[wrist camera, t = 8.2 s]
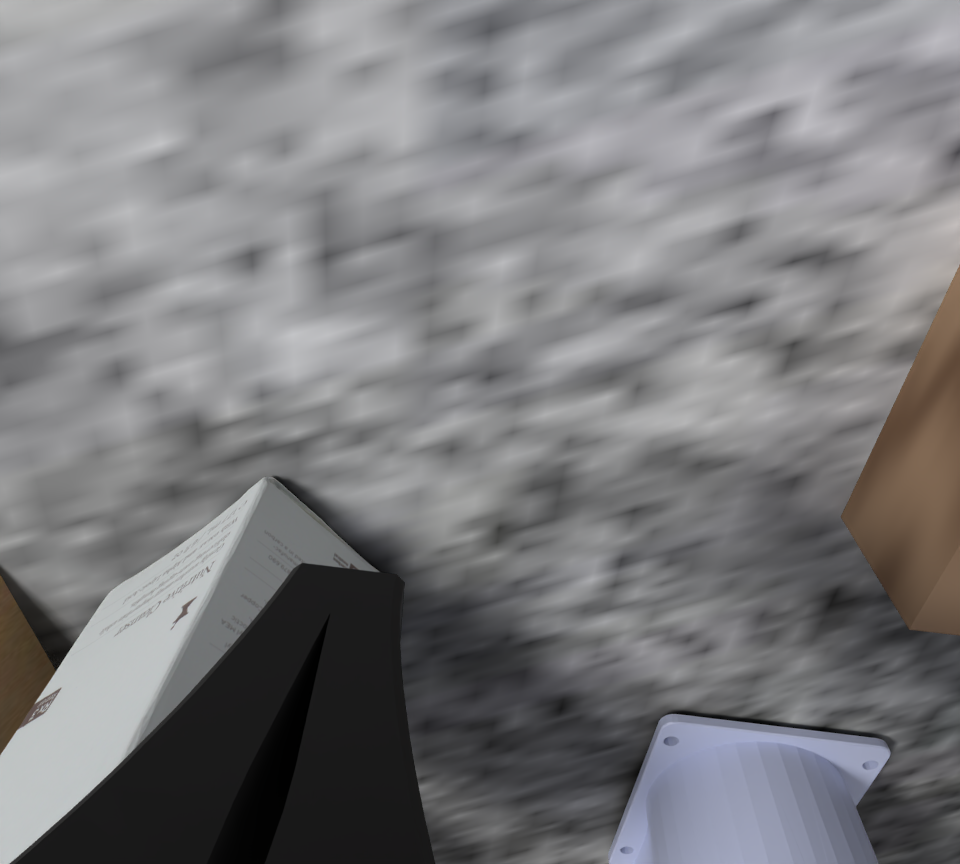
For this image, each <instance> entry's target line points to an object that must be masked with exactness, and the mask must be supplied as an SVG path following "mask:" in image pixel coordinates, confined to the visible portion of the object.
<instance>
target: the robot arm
mask: <svg viewBox="0 0 960 864" xmlns="http://www.w3.org/2000/svg"><path fill="white" fill-rule="evenodd" d="M404 586H405V582H404V581H403V580H402V579H401V578H400V577H399V576H398V575H397V574H390V573H381V572H373V571H365V570H357V569H349V568H341V567H332V566H324V565H316V564H308V563H301V564H299V565H298V566H296V567H295V568H293V570H292V571H291V572H290V574H289V575H288V576H287V578H286V579H285V580H284V582H283V583H282V584H281V586H280V587H279V588H278V590H277V591H276V592H275V594H274V595H273V596H272V597H271V599H270V600H269V601H268V602H267V604H266V605H265V606H264V608H263V609H262V610H261V611H260V612H259V614H258V615H257V616H256V617H255V619H254V620H253V621H252V622H251V623H250V625H249V626H248V627H247V628H246V629H245V630H244V632H243V633H242V634H241V635H240V636H239V638H238V639H237V640H236V641H235V642H234V644H233V645H232V646H231V647H230V648H229V649H228V650H227V651H226V653H225V654H224V655H223V656H222V657H221V658H220V659H219V660H218V661H217V663H216V664H215V665H214V666H213V667H212V668H211V669H210V670H209V672H208V673H207V674H206V675H205V676H204V677H203V678H202V679H201V680H200V682H199V683H198V684H197V685H196V686H195V687H194V688H193V689H192V690H191V692H190V693H189V694H188V695H187V696H186V697H185V698H184V699H183V700H182V701H181V702H180V703H179V704H178V705H177V706H176V708H175V709H174V710H173V711H172V712H171V713H170V714H169V715H168V716H167V717H166V718H165V719H164V720H163V721H162V722H161V723H160V724H159V725H158V726H157V727H156V728H155V729H154V730H153V731H152V732H151V733H150V734H149V735H148V736H147V737H146V738H145V739H144V740H143V741H142V742H141V743H140V744H139V745H138V746H137V747H136V748H135V749H134V750H133V751H132V752H131V753H130V754H129V755H128V756H127V757H126V758H125V759H124V760H123V761H122V762H121V763H120V764H119V765H118V766H117V767H116V768H115V769H114V770H113V771H112V772H111V773H110V774H109V775H108V776H106V777H105V778H104V779H103V780H102V781H101V782H100V783H99V784H98V785H97V786H96V787H95V788H94V789H93V790H92V791H91V792H90V793H88V794H87V795H86V796H85V797H84V798H83V799H82V800H81V801H80V802H79V803H78V804H76V805H75V806H74V807H73V808H72V809H71V810H70V811H69V812H68V813H67V814H66V815H64V816H63V817H62V818H61V819H60V820H59V821H58V822H57V823H55V824H54V825H53V826H52V827H51V828H50V829H49V830H48V831H46V832H45V833H44V834H43V835H42V836H41V837H40V838H38V839H37V840H36V841H35V842H34V843H33V844H32V845H31V846H29V847H28V848H27V849H26V850H25V851H24V852H23V853H21V854H20V855H19V856H18V857H17V858H16V859H14V860H13V861H12V862H11V863H10V864H435V861H434V856H433V852H432V848H431V844H430V839H429V835H428V830H427V826H426V821H425V817H424V812H423V807H422V802H421V797H420V792H419V787H418V782H417V776H416V771H415V766H414V760H413V754H412V748H411V742H410V736H409V729H408V721H407V713H406V705H405V698H404V690H403V680H402V669H401V651H400V638H401V625H402V612H403V599H404ZM890 755H891V752H890V750H889V747H888V745H887V743H886V742H885V741H884V740H882V739H878V738H872V737H864V736H856V735H847V734H839V733H831V732H822V731H814V730H806V729H797V728H789V727H781V726H773V725H764V724H756V723H748V722H739V721H731V720H723V719H714V718H706V717H698V716H690V715H681V714H669V715H666V716H664V717H662V718H661V719H660V721H659V722H658V725H657V728H656V730H655V733H654V736H653V738H652V741H651V743H650V746H649V749H648V751H647V754H646V756H645V759H644V762H643V764H642V767H641V769H640V772H639V775H638V777H637V780H636V783H635V785H634V788H633V790H632V793H631V796H630V798H629V801H628V803H627V806H626V809H625V811H624V814H623V817H622V819H621V822H620V824H619V827H618V830H617V832H616V835H615V837H614V840H613V843H612V845H611V848H610V850H609V853H608V858H609V864H879V863H878V860H877V858H876V855H875V853H874V850H873V848H872V846H871V843H870V841H869V838H868V836H867V833H866V831H865V828H864V826H863V823H862V821H861V819H860V816H859V814H858V811H857V809H856V806H857V804H858V803H859V802H860V800H861V799H862V797H863V796H864V794H865V793H866V791H867V790H868V788H869V787H870V785H871V784H872V782H873V781H874V779H875V778H876V776H877V775H878V773H879V772H880V770H881V769H882V768H883V766H884V765H885V763H886V762H887V760H888V759H889V757H890Z"/></svg>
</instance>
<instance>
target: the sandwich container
mask: <svg viewBox="0 0 960 864" xmlns="http://www.w3.org/2000/svg"><path fill="white" fill-rule="evenodd" d="M55 672H56V670H55V668H54V667H53V665H52V663H51V662H50V660H49V658H48V656H47V655H46V653H45V651H44V649H43V648H42V646H41V644H40V643H39V641H38V639H37V637H36V636H35V634H34V632H33V630H32V629H31V627H30V625H29V623H28V622H27V620H26V618H25V617H24V615H23V613H22V611H21V610H20V608H19V606H18V604H17V603H16V601H15V599H14V598H13V596H12V594H11V592H10V591H9V589H8V587H7V585H6V584H5V582H4V580H3V579H2V577H1V575H0V755H1V753H2V752H3V750H4V749H5V747H6V746H7V745H8V743H9V742H10V740H11V739H12V737H13V736H14V734H15V733H16V731H17V730H18V728H19V727H20V725H21V724H22V722H23V720H24V719H25V717H26V716H27V714H28V712H29V711H30V710H31V708H32V707H33V705H34V704H35V702H36V701H37V699H38V698H39V696H40V695H41V693H42V692H43V691H44V689H45V688H46V686H47V685H48V683H49V681H50V680H51V678H52V677H53V675H54V674H55Z"/></svg>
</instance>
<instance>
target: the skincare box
mask: <svg viewBox="0 0 960 864" xmlns="http://www.w3.org/2000/svg"><path fill="white" fill-rule="evenodd" d="M301 563H308V564H316V565H324V566H332V567H341V568H349V569H357V570H365V571H373V572H379V571H378V570H377V569H376V568H374V567H373V566H372V565H370V564H369V563H368V562H367V561H365V560H364V559H363V558H362V557H361V556H360V555H359V554H358V553H356V552H355V551H354V550H353V549H352V548H351V547H350V546H349V545H348V544H347V543H346V542H345V541H343V540H342V539H341V538H340V537H339V536H338V535H337V534H336V533H335V532H334V531H333V530H332V529H331V528H330V527H329V526H328V525H327V524H326V523H325V522H324V521H323V520H322V519H321V518H319V517H318V516H317V515H316V514H315V513H314V512H313V511H311V510H310V509H309V508H308V507H307V506H306V505H305V504H304V503H302V502H301V501H300V500H299V499H298V498H297V497H296V496H295V495H293V494H292V493H291V492H290V491H289V490H288V489H287V488H285V487H284V486H283V485H282V484H281V483H280V482H279V481H277V480H276V479H275V478H273V477H264V478H262V479H261V480H260V481H259V482H258V483H256V484H255V485H254V486H253V487H251V488H250V489H249V490H248V491H247V492H246V493H245V494H244V495H243V496H242V497H241V498H240V499H239V500H238V501H237V502H235V503H234V504H233V505H232V506H230V507H229V508H228V509H227V510H225V511H224V512H223V513H222V514H220V515H219V516H218V517H217V518H215V519H214V520H213V521H211V522H210V523H209V524H208V525H206V526H205V527H204V528H203V529H201V530H200V531H199V532H197V533H196V534H194V535H193V536H192V537H190V538H189V539H188V540H186V541H185V542H183V543H182V544H181V545H179V546H178V547H177V548H175V549H174V550H172V551H171V552H170V553H168V554H167V555H165V556H164V557H162V558H161V559H159V560H158V561H156V562H155V563H153V564H152V565H150V566H149V567H147V568H146V569H144V570H143V571H141V572H140V573H138V574H136V575H135V576H133V577H131V578H130V579H128V580H126V581H124V582H123V583H121V584H120V585H119V586H117V587H116V588H114V589H113V590H112V591H111V592H110V593H109V594H108V595H107V596H106V597H105V599H104V600H103V602H102V603H101V605H100V606H99V608H98V609H97V611H96V612H95V614H94V615H93V617H92V618H91V620H90V621H89V623H88V624H87V625H86V627H85V628H84V630H83V631H82V633H81V634H80V636H79V637H78V639H77V640H76V642H75V643H74V645H73V646H72V648H71V649H70V651H69V652H68V654H67V655H66V657H65V658H64V660H63V662H62V663H61V665H60V666H59V668H58V669H57V671H56V672H55V674H54V675H53V677H52V678H51V680H50V681H49V683H48V685H47V686H46V688H45V689H44V691H43V692H42V693H41V695H40V696H39V698H38V699H37V701H36V702H35V704H34V705H33V707H32V708H31V710H30V711H29V712H28V714H27V716H26V717H25V719H24V720H23V722H22V724H21V725H20V727H19V728H18V730H17V731H16V733H15V734H14V736H13V737H12V739H11V740H10V742H9V743H8V745H7V746H6V747H5V749H4V750H3V752H2V753H1V755H0V864H10V863H11V862H12V861H13V860H14V859H16V858H17V857H18V856H19V855H20V854H21V853H23V852H24V851H25V850H26V849H27V848H28V847H29V846H31V845H32V844H33V843H34V842H35V841H36V840H37V839H38V838H40V837H41V836H42V835H43V834H44V833H45V832H46V831H48V830H49V829H50V828H51V827H52V826H53V825H54V824H55V823H57V822H58V821H59V820H60V819H61V818H62V817H63V816H64V815H66V814H67V813H68V812H69V811H70V810H71V809H72V808H73V807H74V806H75V805H76V804H78V803H79V802H80V801H81V800H82V799H83V798H84V797H85V796H86V795H87V794H88V793H90V792H91V791H92V790H93V789H94V788H95V787H96V786H97V785H98V784H99V783H100V782H101V781H102V780H103V779H104V778H105V777H106V776H108V775H109V774H110V773H111V772H112V771H113V770H114V769H115V768H116V767H117V766H118V765H119V764H120V763H121V762H122V761H123V760H124V759H125V758H126V757H127V756H128V755H129V754H130V753H131V752H132V751H133V750H134V749H135V748H136V747H137V746H138V745H139V744H140V743H141V742H142V741H143V740H144V739H145V738H146V737H147V736H148V735H149V734H150V733H151V732H152V731H153V730H154V729H155V728H156V727H157V726H158V725H159V724H160V723H161V722H162V721H163V720H164V719H165V718H166V717H167V716H168V715H169V714H170V713H171V712H172V711H173V710H174V709H175V708H176V706H177V705H178V704H179V703H180V702H181V701H182V700H183V699H184V698H185V697H186V696H187V695H188V694H189V693H190V692H191V690H192V689H193V688H194V687H195V686H196V685H197V684H198V683H199V682H200V680H201V679H202V678H203V677H204V676H205V675H206V674H207V673H208V672H209V670H210V669H211V668H212V667H213V666H214V665H215V664H216V663H217V661H218V660H219V659H220V658H221V657H222V656H223V655H224V654H225V653H226V651H227V650H228V649H229V648H230V647H231V646H232V645H233V644H234V642H235V641H236V640H237V639H238V638H239V636H240V635H241V634H242V633H243V632H244V630H245V629H246V628H247V627H248V626H249V625H250V623H251V622H252V621H253V620H254V619H255V617H256V616H257V615H258V614H259V612H260V611H261V610H262V609H263V608H264V606H265V605H266V604H267V602H268V601H269V600H270V599H271V597H272V596H273V595H274V594H275V592H276V591H277V590H278V588H279V587H280V586H281V584H282V583H283V582H284V580H285V579H286V578H287V576H288V575H289V574H290V572H291V571H292V570H293V568H295V567H296V566H298V565H299V564H301Z"/></svg>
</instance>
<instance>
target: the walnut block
mask: <svg viewBox="0 0 960 864" xmlns="http://www.w3.org/2000/svg"><path fill="white" fill-rule="evenodd" d="M841 518H842V520H843V522H844V523H845V525H846V527H847V528H848V530H849V531H850V533H851V535H852V536H853V538H854V540H855V541H856V543H857V545H858V546H859V548H860V550H861V551H862V553H863V554H864V556H865V558H866V559H867V561H868V563H869V564H870V566H871V568H872V569H873V571H874V573H875V574H876V576H877V578H878V579H879V581H880V582H881V584H882V586H883V587H884V589H885V591H886V592H887V594H888V596H889V597H890V599H891V601H892V602H893V604H894V606H895V607H896V609H897V610H898V612H899V614H900V615H901V617H902V619H903V620H904V622H905V624H906V625H907V627H908V629H909V630H917V631H926V632H934V633H943V634H951V635H960V265H959V268H958V270H957V272H956V274H955V276H954V278H953V280H952V282H951V285H950V287H949V289H948V291H947V293H946V295H945V297H944V299H943V301H942V304H941V306H940V308H939V310H938V312H937V314H936V316H935V318H934V321H933V323H932V325H931V327H930V329H929V331H928V333H927V335H926V337H925V340H924V342H923V344H922V346H921V348H920V350H919V352H918V354H917V357H916V359H915V361H914V363H913V365H912V367H911V369H910V371H909V373H908V376H907V378H906V380H905V382H904V384H903V386H902V388H901V390H900V393H899V395H898V397H897V399H896V401H895V403H894V405H893V407H892V409H891V412H890V414H889V416H888V418H887V420H886V422H885V424H884V426H883V429H882V431H881V433H880V435H879V437H878V439H877V441H876V443H875V445H874V448H873V450H872V452H871V454H870V456H869V458H868V460H867V462H866V465H865V467H864V469H863V471H862V473H861V475H860V477H859V479H858V481H857V484H856V486H855V488H854V490H853V492H852V494H851V496H850V498H849V501H848V503H847V505H846V507H845V509H844V511H843V513H842V515H841Z"/></svg>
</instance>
